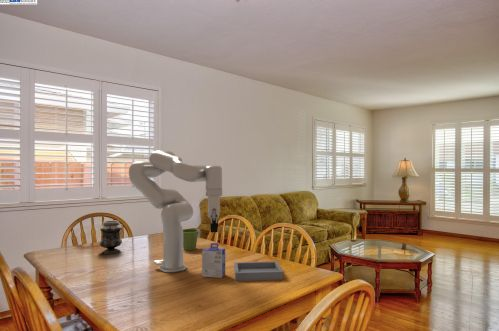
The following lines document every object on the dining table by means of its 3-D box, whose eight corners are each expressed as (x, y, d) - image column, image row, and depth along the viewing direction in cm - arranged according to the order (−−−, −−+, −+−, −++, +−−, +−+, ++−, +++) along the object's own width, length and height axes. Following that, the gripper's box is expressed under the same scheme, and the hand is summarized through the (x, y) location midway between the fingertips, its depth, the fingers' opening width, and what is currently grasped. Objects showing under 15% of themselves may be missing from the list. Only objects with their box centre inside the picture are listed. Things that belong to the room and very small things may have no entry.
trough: (235, 281, 145) (235, 273, 145) (234, 269, 161) (234, 262, 161) (283, 279, 147) (283, 271, 147) (277, 268, 163) (277, 261, 163)
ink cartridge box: (226, 274, 154) (225, 243, 154) (222, 278, 149) (222, 246, 149) (205, 273, 156) (205, 242, 156) (201, 277, 151) (201, 245, 151)
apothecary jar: (126, 251, 196) (126, 220, 196) (108, 256, 186) (108, 223, 186) (113, 248, 203) (113, 218, 203) (95, 253, 193) (95, 221, 193)
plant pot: (189, 245, 209) (189, 227, 209) (203, 248, 202) (203, 229, 202) (175, 249, 200) (175, 230, 200) (189, 252, 193) (189, 233, 193)
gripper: (206, 191, 161) (207, 227, 161) (204, 194, 143) (205, 234, 143) (222, 191, 161) (222, 226, 161) (222, 194, 144) (222, 233, 144)
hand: (214, 230), depth 152 cm, fingers open, 9 cm apart
